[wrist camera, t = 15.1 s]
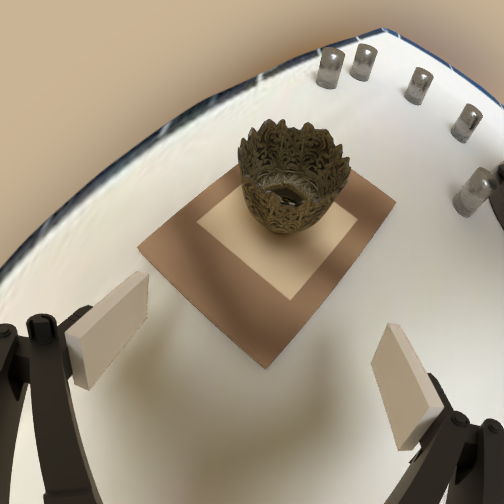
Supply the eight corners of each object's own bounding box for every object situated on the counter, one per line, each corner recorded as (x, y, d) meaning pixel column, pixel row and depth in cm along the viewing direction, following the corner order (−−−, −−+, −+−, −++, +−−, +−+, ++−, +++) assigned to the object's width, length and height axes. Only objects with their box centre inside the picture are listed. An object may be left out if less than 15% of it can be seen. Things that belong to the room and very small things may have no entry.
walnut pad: (286, 133, 32) (287, 127, 32) (393, 206, 29) (396, 201, 28) (139, 251, 25) (136, 246, 24) (265, 369, 21) (266, 368, 21)
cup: (324, 194, 28) (349, 129, 21) (320, 266, 24) (353, 209, 17) (244, 179, 28) (248, 110, 21) (227, 250, 25) (226, 185, 17)
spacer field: (414, 78, 43) (424, 54, 38) (510, 208, 31) (533, 185, 26) (306, 69, 40) (312, 39, 35) (404, 230, 28) (431, 197, 23)
